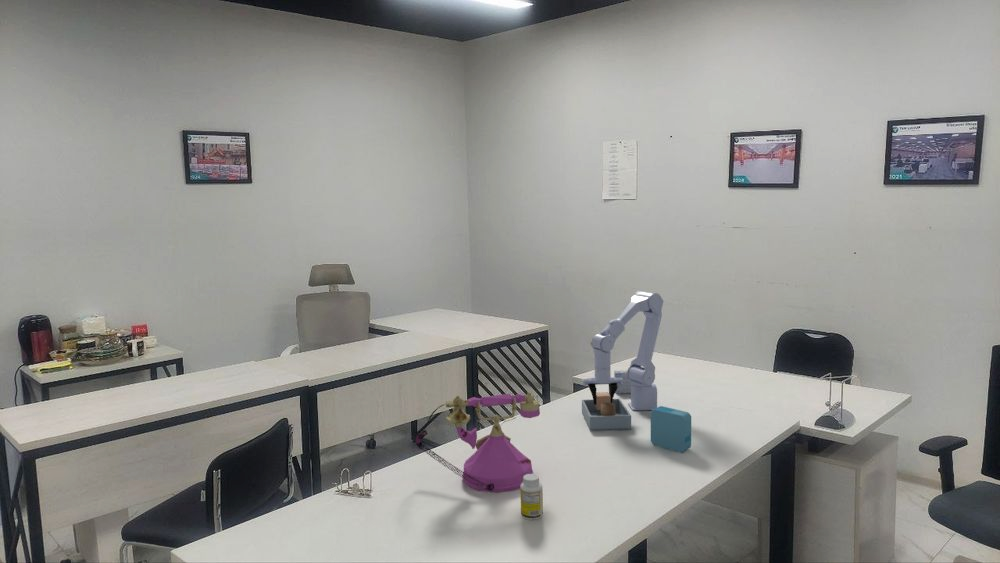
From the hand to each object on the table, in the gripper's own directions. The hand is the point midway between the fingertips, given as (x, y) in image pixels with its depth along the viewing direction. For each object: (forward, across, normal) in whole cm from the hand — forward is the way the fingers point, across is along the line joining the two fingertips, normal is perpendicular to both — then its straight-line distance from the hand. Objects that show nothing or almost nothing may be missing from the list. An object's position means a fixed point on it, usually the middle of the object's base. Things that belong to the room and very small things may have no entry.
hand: (602, 403), depth 234 cm
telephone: (+5, +44, +52) cm, 68 cm away
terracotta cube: (+2, 0, 0) cm, 2 cm away
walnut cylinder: (+4, 0, +11) cm, 11 cm away
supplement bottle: (+5, +31, +74) cm, 80 cm away
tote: (+5, 0, +6) cm, 7 cm away
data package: (+5, -16, +32) cm, 36 cm away
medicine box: (+5, -14, -28) cm, 32 cm away
